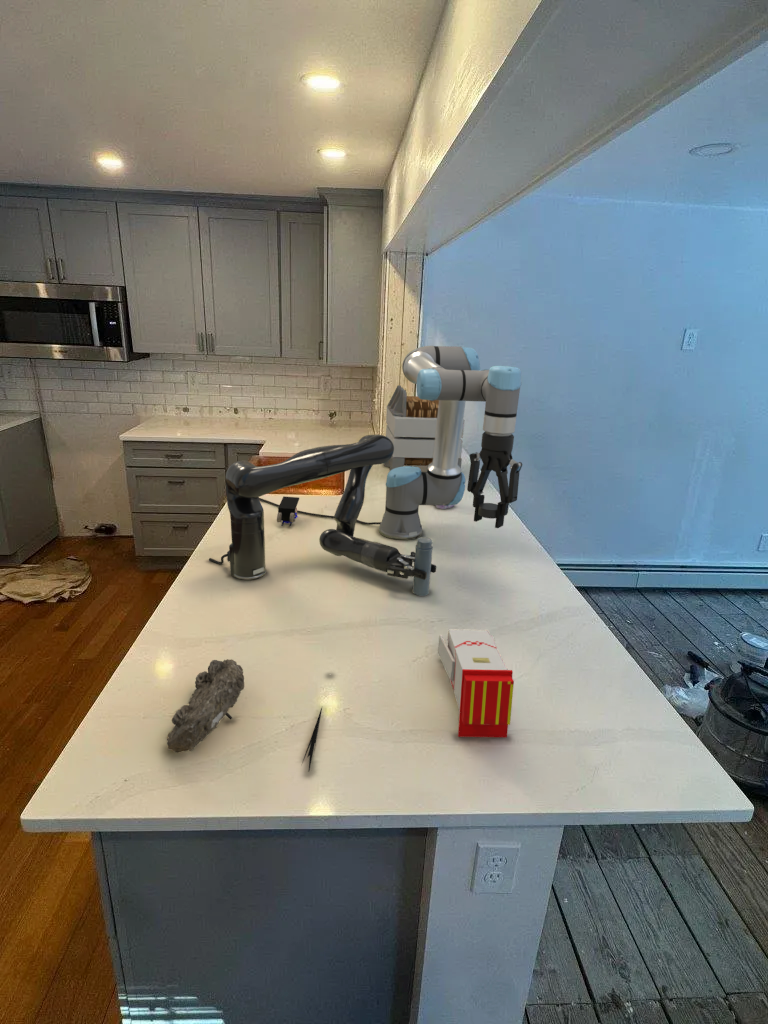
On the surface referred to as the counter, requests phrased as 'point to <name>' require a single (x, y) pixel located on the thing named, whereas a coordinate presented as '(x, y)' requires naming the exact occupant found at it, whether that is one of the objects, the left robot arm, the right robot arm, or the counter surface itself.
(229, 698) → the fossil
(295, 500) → the figurine character
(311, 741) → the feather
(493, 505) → the lid
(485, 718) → the toy
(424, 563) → the grey cylinder
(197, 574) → the counter surface
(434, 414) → the grey slatted wooden crate
